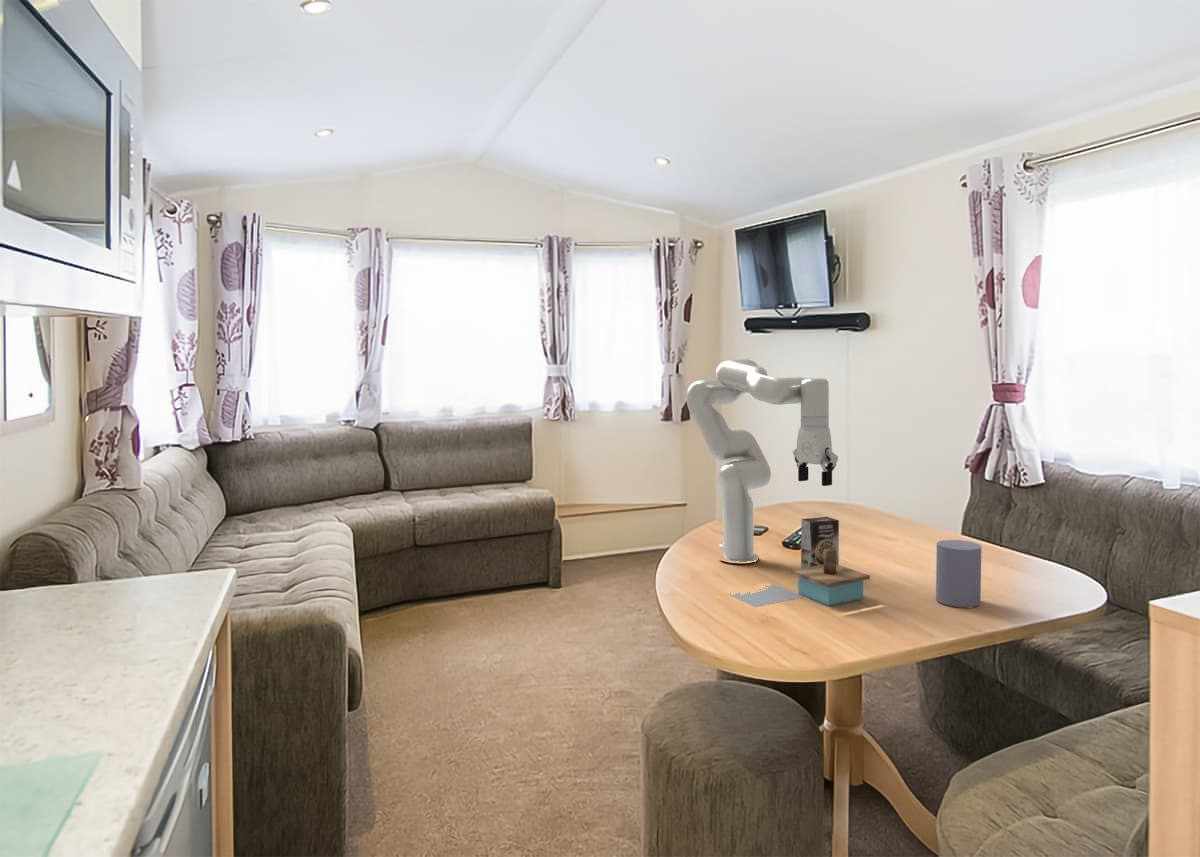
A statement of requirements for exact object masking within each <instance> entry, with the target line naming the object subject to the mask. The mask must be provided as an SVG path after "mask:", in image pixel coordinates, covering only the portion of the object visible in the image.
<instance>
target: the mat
mask: <svg viewBox="0 0 1200 857" xmlns="http://www.w3.org/2000/svg"><path fill="white" fill-rule="evenodd" d="M769 586H771V587H769ZM769 586H765V587H768V588H763V589H766V590H764V591H763V590H762V591H760V592H757V593H756V592H755V593H752V595H751V593H750V592H749V593H748V592H747V594H746V593H745V594H744V595H743V594H742V595H741V594H740V592H739V593H738V594H737V593H736V594H735V595H734V594H733V595H732V596H731V593H730V595H729V596H731V597H732V598H735V599H737V600H739V601H741V602H744V603H746V604H747V605H750V606H752V607H754V608H756V607H757V608H758V607H763V606H767V605H773V604H777V603H782V602H787V601H788V602H789V601H793V600H796V599H797V600H799V599H803V598H805V597H804V596H802V595H799V594H798V593H797V592H793V591H792V590H788V589H786V588H784V587H781V586H779V585H776V584H775V583H772V585H769ZM767 589H768V590H767ZM759 590H761V589H759ZM740 595H741V596H740Z"/></svg>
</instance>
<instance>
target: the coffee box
mask: <svg viewBox="0 0 1200 857" xmlns="http://www.w3.org/2000/svg"><path fill="white" fill-rule="evenodd" d="M839 529H840V520H839V519H836V518H833V517H829V516H821V517H820V516H819V517H809V518H801V532H800V533H801V535H800V536H801V537H800V538H801V539H800V540H801V541H800V542H801V548H800V549H801V551H800V555H801V556H800V568H806V567H812V566H817V565H823V564H824V549H834V550H836V564H837V565H839V562H840V559H839V555H840V554H839V552H840V550H839V549H840V548H839V546H840V545H839V544H840V543H839V542H840V541H839V539H840V538H839V536H840V535H839V534H840V530H839Z"/></svg>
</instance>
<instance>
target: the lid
mask: <svg viewBox="0 0 1200 857" xmlns="http://www.w3.org/2000/svg"><path fill="white" fill-rule="evenodd" d="M790 571H791V572H790V573H791V575H794V576H797V577H798V576H799V577H801V578H804V579H807V580H809V581H812V582H815V583H817V584H820V585H823V586H825V587H832V586H837V585H842V584H848V583H853V582H858V581H863V582H864V581H867V580H871V579H870V578H871V575H870V574H867V573H865V572H862V571H861V572H860V571H858V570H854V569H852V568H849V567H845V566H843V565H837V564H836V550H834V549H824V564H823V565H817V566H812V567H806V568H801V567H800V568H795V569H791V570H790Z"/></svg>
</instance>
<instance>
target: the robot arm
mask: <svg viewBox="0 0 1200 857" xmlns="http://www.w3.org/2000/svg"><path fill="white" fill-rule="evenodd" d="M715 370H716V371H715V376H716V378H708V379H707V378H705V379H699V380H696V381H694V382H692V384H690V385H689V387H688V389H687V392H686V406H687V408H688V411H689V413H690V415H691V417H692V420H694V422H695V423H696V425H697V426H698V428H699V430H700V431H701V434H702V437H703V439H704V440H705V443H706V445H707V447H708V449H709V451H710V453H711V456H713V458H714V459H715V460H716V461H719V462H726V463H725V464H724V465H722V466H721V468H720V470H719V473H718V482H719V486H720V490H721V497H722V498H721V499H722V500H721V501H722V543H720V544H719V545H718V547H719V549H722V552H721V553H723V555H724V557H725V558H728V559H729V560H730V561H735V562H736V561H739V562H747V561H754V560H757V559H758V558H759V559H760V556H759V555H758V554H756V553H754V550H755V548H754V546H755V545H754V543H755V542H754V538H755V537H754V534H755V533H754V531H755V530H754V529H755V528H754V526H755V525H754V503H753V500H752V497H751V495H750V493H749V490H753V489H759V488H763V487H766V486H767V485H768V484H769V483H770V481H771V478H772V471H771V467H770V465H769V462H768V461H767V459H766V457H765V455H764V453H763V451H762V449H761V447H760V445H759V442H758V441H757V439H756V438H755V436H754V435H753V434H752V433H751V432H749V431H747V430H743V429H737V430H732V429H730V427H729V425H728V424H727V422H726V420H725V418H724V415H722V414H721V412H719V411H718V410H717V409H716V408H714V407H713V406H714V405H726V404H731V403H735V402H736V401H737V400H739V399H740V398H741V397H742V396H744V395H745V394H746V393H748V394H750V395H751V396H752V398H754V399H755V400H758V401H761V402H764V403H768V404H771V405H775V406H776V405H777V406H781V405H791V404H792V405H793V404H795V405H796V404H800V426H799V427H798V432H797V438H796V448H795V449H794V450H793V451H792V454H793V457H794V461H795V462H796V467H797V470H798V472H797V476H798V477H797V479H798V482H805V481H809V466H808V464H810V465H811V464H812V465H820V467H821V469H822V470H823V471H821V486H822V487H829V486H833V485H832V484H833V472H834V471H835V467H837V462H838V460H839V457H838V455H837V454H836V453H835V452H834V451H833V444H832V435H831V429H830V426H829V425H830V423H829V422H830V421H829V420H830V419H829V418H830V417H829V416H830V410H829V409H830V404H829V403H830V401H829V400H830V399H829V398H830V395H829V394H830V393H829V392H830V390H829V389H830V387H829V381H828V380H827V379H826V378H821V377H818V378H817V377H814V378H813V377H812V378H811V377H809V378H808V377H800V376H799V377H798V376H796V377H795V376H794V377H779V378H778V377H773V376H772V377H771V376H768V373H767V370H766V369H765V368H764V367H762V366H759V364H757V363H756V362H755V361H754V360H751V359H745V358H744V359H729V360H725V361H723V362H721V363H720V364H719V365H718V366H717V368H716V369H715ZM728 461H729V462H728Z"/></svg>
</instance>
